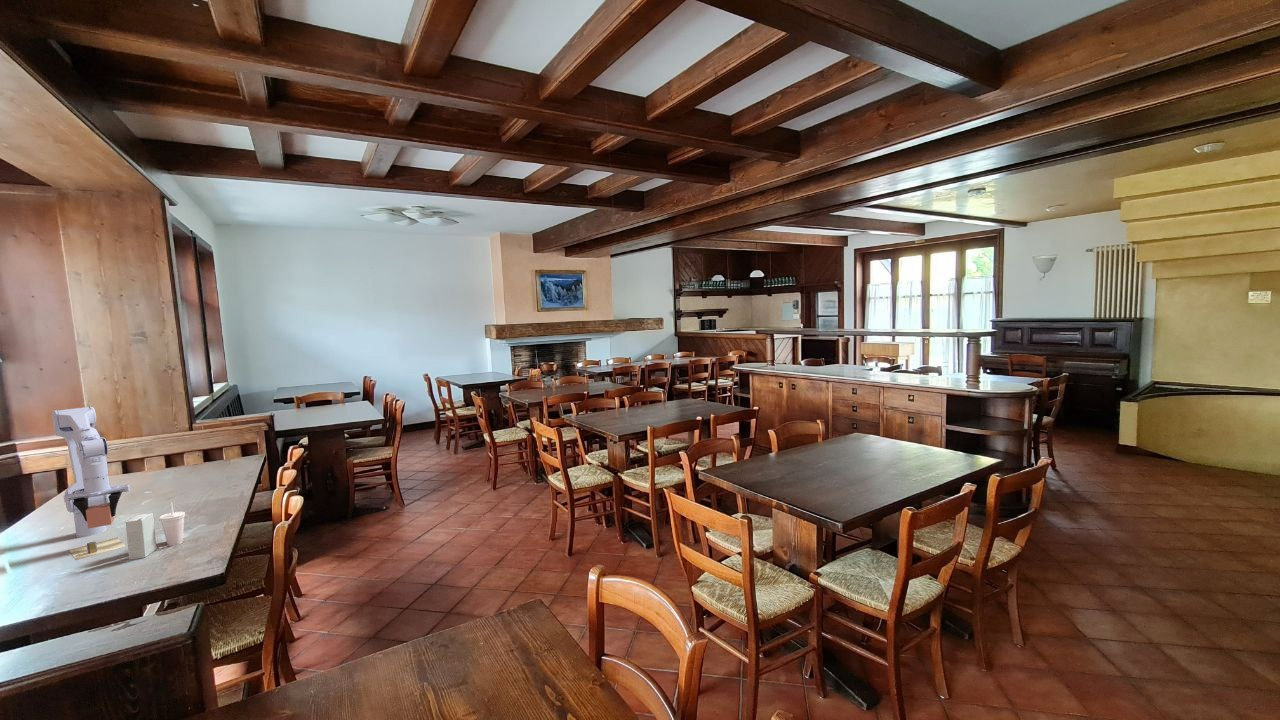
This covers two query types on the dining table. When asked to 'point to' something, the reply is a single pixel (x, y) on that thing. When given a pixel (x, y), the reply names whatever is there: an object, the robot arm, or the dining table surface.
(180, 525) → the smoothie
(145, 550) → the skincare box
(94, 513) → the terracotta orange block
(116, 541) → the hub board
